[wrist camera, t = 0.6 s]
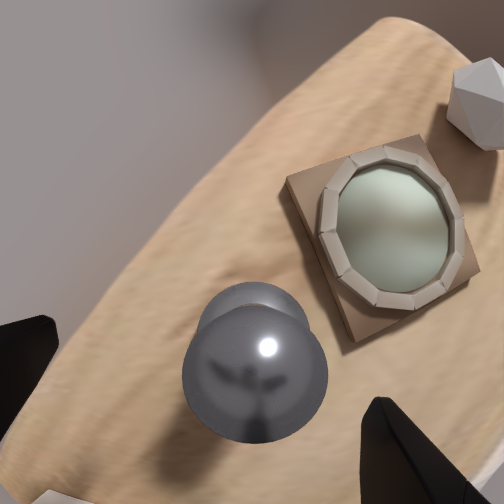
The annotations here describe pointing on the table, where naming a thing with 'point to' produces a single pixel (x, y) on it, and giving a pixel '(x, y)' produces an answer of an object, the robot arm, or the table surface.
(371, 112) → the table surface
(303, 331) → the silver round peg
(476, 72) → the die
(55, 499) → the medicine bottle
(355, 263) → the board
